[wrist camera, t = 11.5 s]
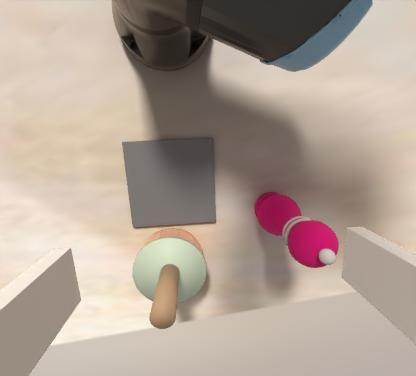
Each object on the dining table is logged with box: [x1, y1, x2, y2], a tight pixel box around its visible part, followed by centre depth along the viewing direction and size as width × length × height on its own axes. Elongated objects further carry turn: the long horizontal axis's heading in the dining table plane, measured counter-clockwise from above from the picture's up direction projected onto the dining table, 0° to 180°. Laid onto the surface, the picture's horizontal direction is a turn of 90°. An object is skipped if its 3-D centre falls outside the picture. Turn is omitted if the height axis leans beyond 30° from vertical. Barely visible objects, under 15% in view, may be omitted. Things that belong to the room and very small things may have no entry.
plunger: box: [133, 237, 207, 329], centre depth 35 cm, size 13×13×11 cm
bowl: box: [145, 228, 203, 255], centre depth 42 cm, size 12×12×5 cm
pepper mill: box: [255, 192, 338, 268], centre depth 34 cm, size 7×7×20 cm
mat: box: [122, 138, 216, 227], centre depth 41 cm, size 16×16×1 cm
